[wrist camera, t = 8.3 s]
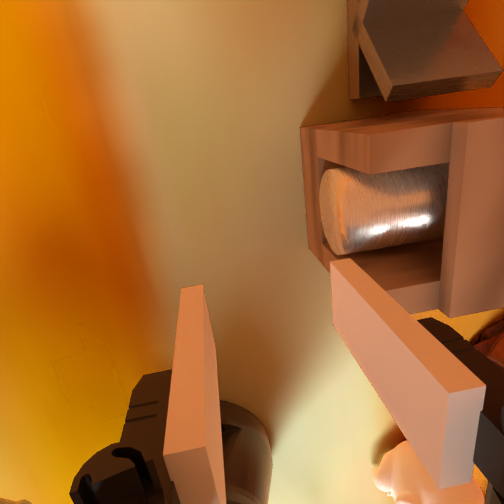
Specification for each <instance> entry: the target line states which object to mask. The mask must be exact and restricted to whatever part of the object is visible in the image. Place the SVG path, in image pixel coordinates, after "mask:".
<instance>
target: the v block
mask: <svg viewBox="0 0 504 504" xmlns="http://www.w3.org/2000/svg"><path fill="white" fill-rule="evenodd" d="M468 1H469V0H347V20H348V63H349V99H357V98H365V97H372V96H379V95H383V97H384V100H385V102H390V101H397V100H404V99H411V98H418V97H425V96H432V95H439V94H446V93H453V92H460V91H467V90H474V89H481V88H488V87H491V86H492V85H493V84H494V82H495V81H496V80H497V78H498V77H499V76H500V75H501V73H502V72H503V69H502V68H501V66H500V65H499V63H498V62H497V60H496V59H495V57H494V56H493V54H492V53H491V51H490V50H489V48H488V47H487V45H486V44H485V42H484V41H483V39H482V38H481V36H480V35H479V33H478V32H477V30H476V29H475V27H474V26H473V24H472V23H471V21H470V20H469V18H468V17H467V15H466V14H465V12H464V11H463V10H464V8H465V6H466V4H467V2H468Z"/></svg>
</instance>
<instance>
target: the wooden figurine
mask: <svg viewBox="0 0 504 504" xmlns="http://www.w3.org/2000/svg"><path fill="white" fill-rule="evenodd" d="M473 346H474V347H475V349H476V350H479V351H480V352H481V353H483V354H484V355H485V356H486V357H487V358H489V359H490V360H491V361H492V362H493V363H495V364H496V365H497V366H498V367H499V368H501V369H502V370H503V371H504V319H503V320H501V321H498V322H496V323H494V324H493V325H492V326H491V327H489V328H487V329H485V330H484V331H483V332H482V333H481V340H480V342H479V343H478V344H476V345H473Z"/></svg>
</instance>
